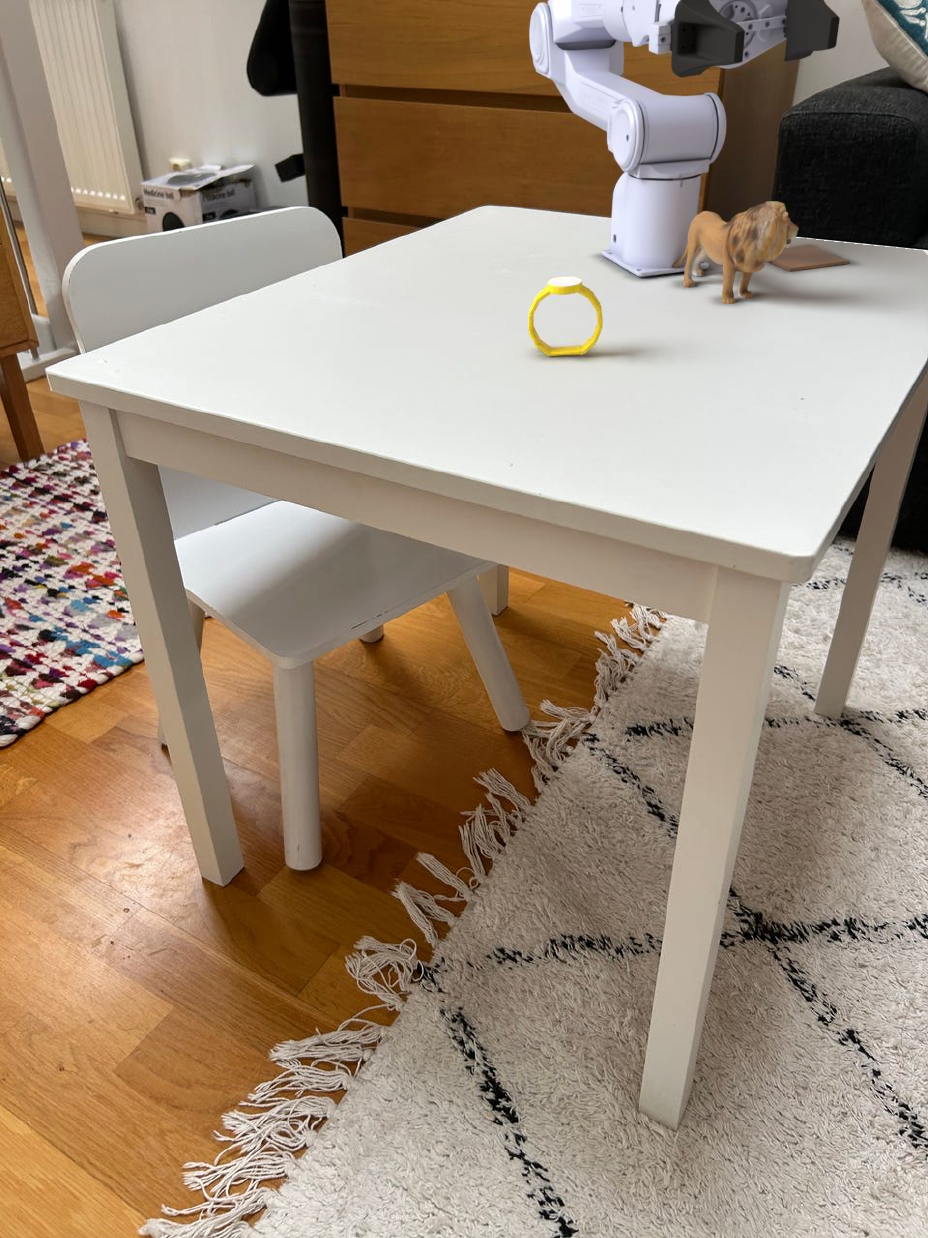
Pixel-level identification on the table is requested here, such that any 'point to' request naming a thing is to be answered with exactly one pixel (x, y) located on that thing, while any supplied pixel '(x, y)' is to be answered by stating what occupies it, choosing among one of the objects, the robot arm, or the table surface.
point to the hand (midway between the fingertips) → (787, 39)
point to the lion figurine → (737, 244)
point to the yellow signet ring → (562, 288)
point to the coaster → (806, 258)
